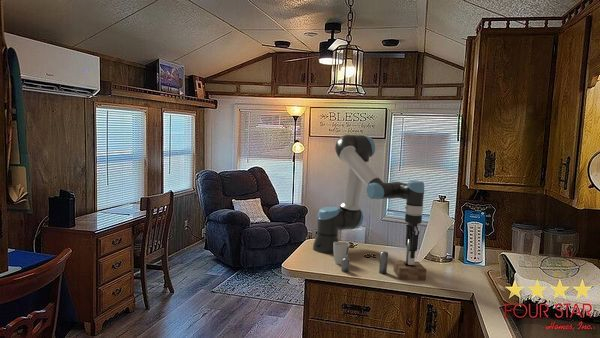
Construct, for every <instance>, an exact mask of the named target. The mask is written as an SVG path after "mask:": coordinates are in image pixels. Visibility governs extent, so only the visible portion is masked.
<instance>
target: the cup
mask: <svg viewBox="0 0 600 338" xmlns="http://www.w3.org/2000/svg"><path fill="white" fill-rule="evenodd" d="M333 252H334V253H333V260H334V264H336V265H340V266H342V258H349V252H350V243H349V242H346V241H339V242H334V243H333Z"/></svg>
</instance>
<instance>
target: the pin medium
mask: <svg viewBox="0 0 600 338" xmlns="http://www.w3.org/2000/svg"><path fill="white" fill-rule="evenodd" d="M379 253H380V254H379V255H380V256H379V267H378V269H379V270H378V272H379V273H378V274H381V275H387V273H388V272H387V271H388V262H389V261H388V260H389V252H388V251H380V252H379Z"/></svg>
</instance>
